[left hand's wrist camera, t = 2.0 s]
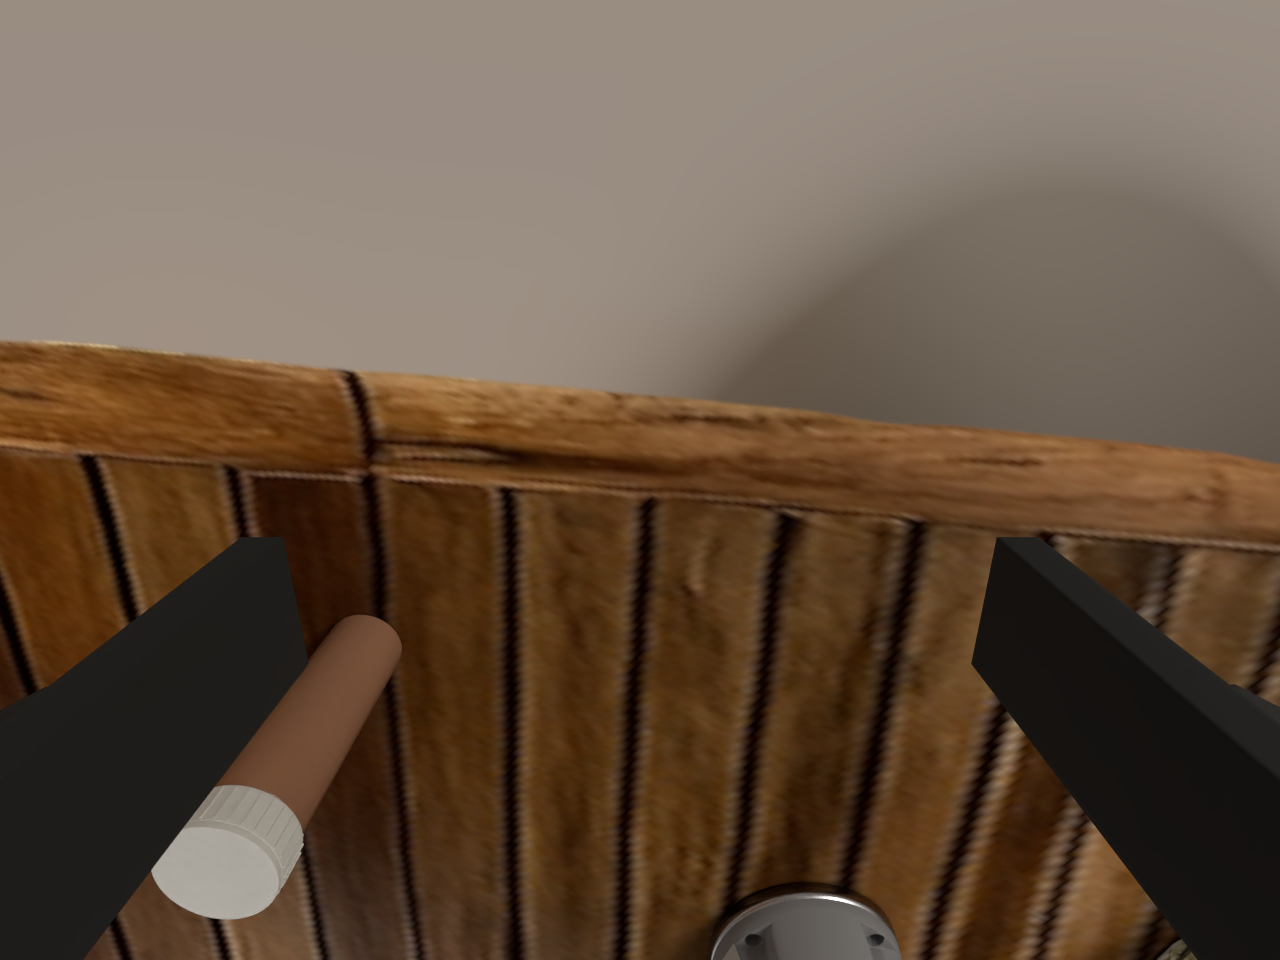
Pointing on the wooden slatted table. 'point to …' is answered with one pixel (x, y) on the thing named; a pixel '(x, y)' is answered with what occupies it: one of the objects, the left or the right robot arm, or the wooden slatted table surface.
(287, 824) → the lid
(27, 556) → the wooden slatted table surface
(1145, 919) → the wooden slatted table surface
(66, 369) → the wooden slatted table surface
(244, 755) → the brown bottle
